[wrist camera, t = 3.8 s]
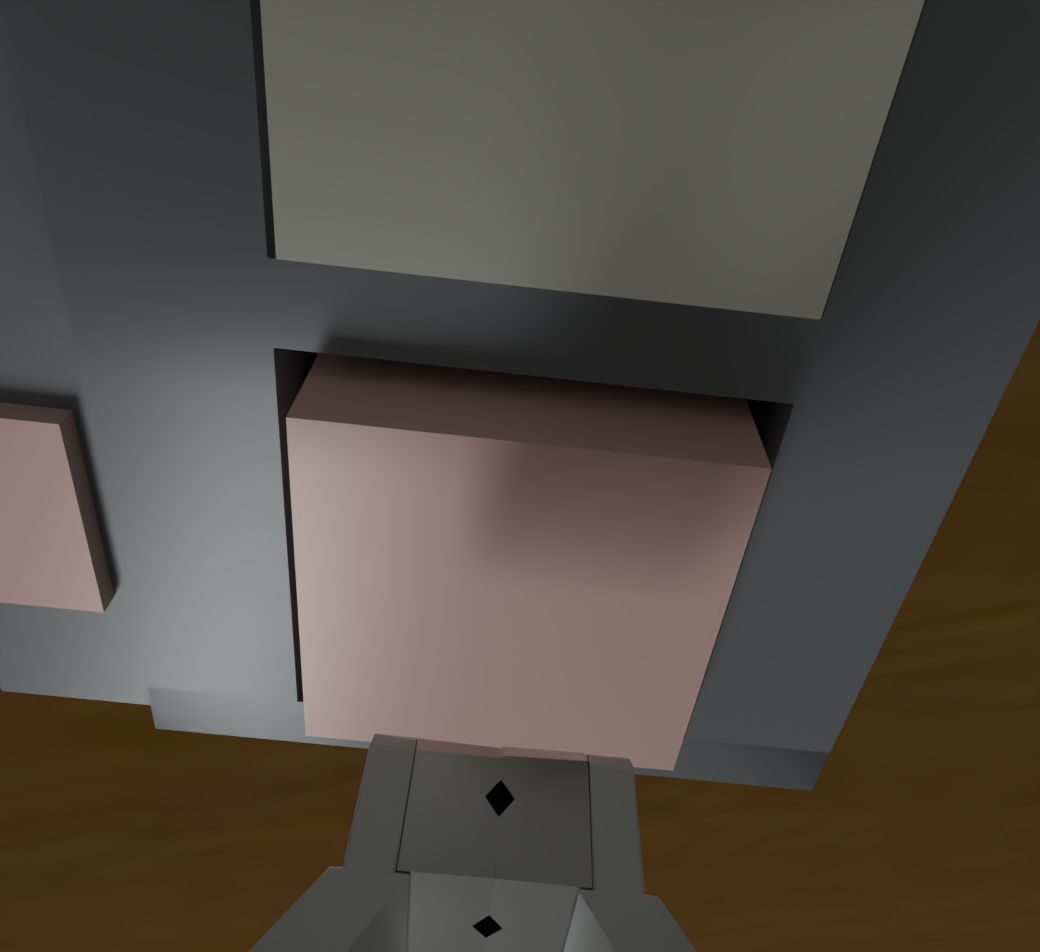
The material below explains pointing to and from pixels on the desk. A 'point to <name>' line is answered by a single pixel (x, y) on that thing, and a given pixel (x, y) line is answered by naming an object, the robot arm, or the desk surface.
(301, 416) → the rose key
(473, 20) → the ivory key
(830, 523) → the keypad
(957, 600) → the desk surface
